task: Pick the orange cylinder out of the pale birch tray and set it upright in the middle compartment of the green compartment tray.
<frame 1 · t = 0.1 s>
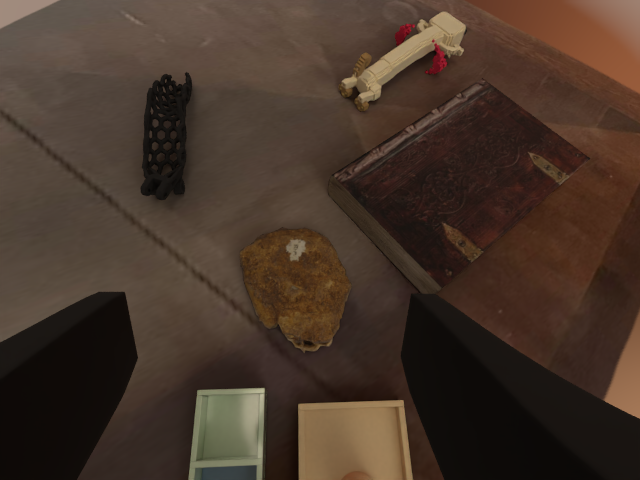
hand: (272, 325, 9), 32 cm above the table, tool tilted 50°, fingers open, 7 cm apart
decorative rock: (299, 290, 43), on the table
hardback book: (449, 187, 50), on the table
decorative element: (175, 144, 51), on the table
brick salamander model: (404, 70, 60), on the table
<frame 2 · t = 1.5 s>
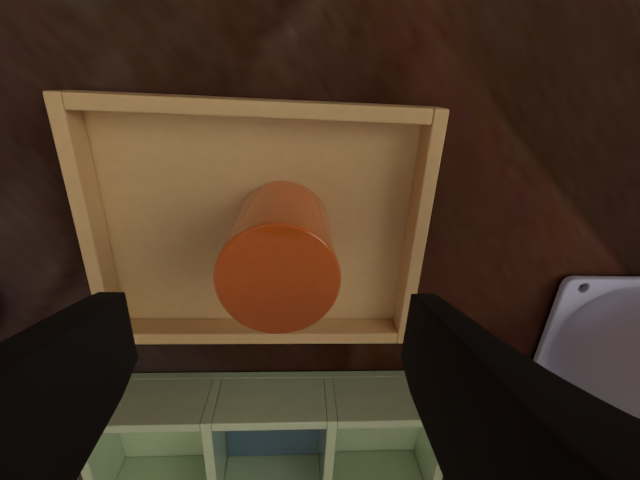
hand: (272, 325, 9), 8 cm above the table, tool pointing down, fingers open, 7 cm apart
orange cylinder: (283, 225, 16), resting on birch tray
birch tray: (261, 224, 16), on the table
green compartment tray: (274, 413, 21), on the table
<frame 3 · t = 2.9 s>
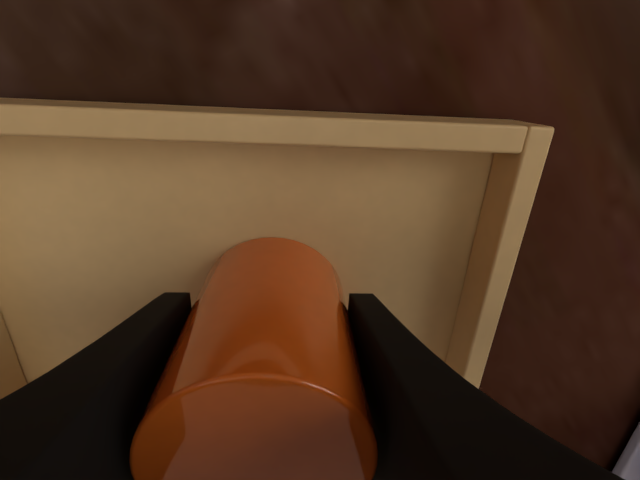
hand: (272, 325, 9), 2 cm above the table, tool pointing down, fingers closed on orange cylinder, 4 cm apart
orange cylinder: (274, 299, 10), point 1 cm above the table, touching birch tray, gripper
birch tray: (241, 296, 11), on the table
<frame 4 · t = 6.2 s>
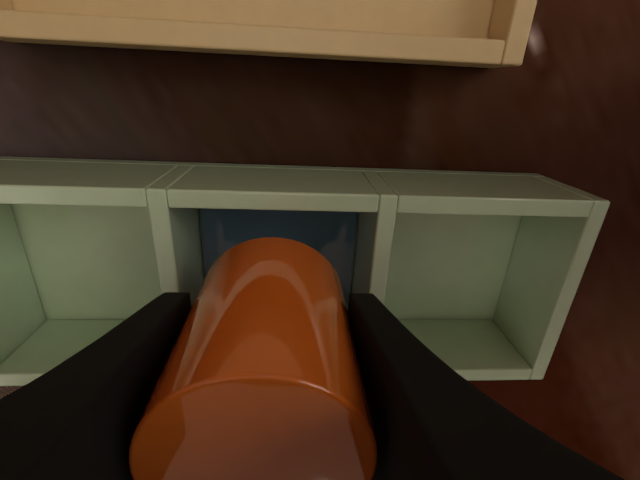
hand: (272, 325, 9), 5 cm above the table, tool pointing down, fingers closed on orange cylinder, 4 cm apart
orange cylinder: (273, 299, 10), point 3 cm above the table, touching gripper
green compartment tray: (280, 250, 13), on the table
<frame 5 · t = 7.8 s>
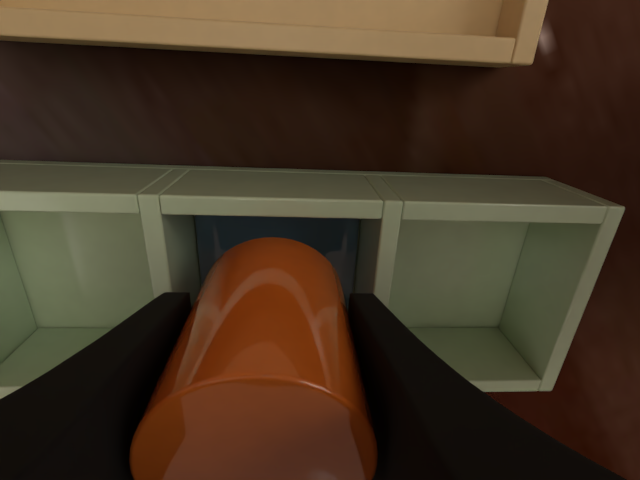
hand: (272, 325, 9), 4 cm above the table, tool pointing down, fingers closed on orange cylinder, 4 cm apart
orange cylinder: (274, 299, 10), point 3 cm above the table, touching gripper
green compartment tray: (279, 256, 13), on the table
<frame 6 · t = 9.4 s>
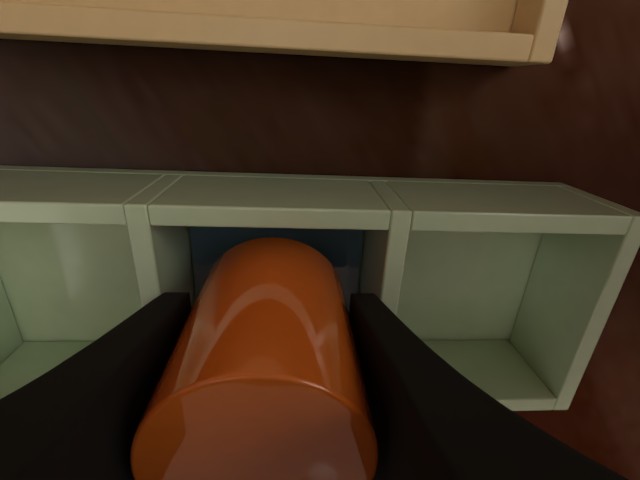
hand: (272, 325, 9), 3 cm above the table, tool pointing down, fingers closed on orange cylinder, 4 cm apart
orange cylinder: (274, 299, 10), point 2 cm above the table, touching gripper
green compartment tray: (278, 266, 12), on the table
when the fingers open (4 cm above the table, at t = 11.0 s): orange cylinder drops 2 cm, resting on green compartment tray.
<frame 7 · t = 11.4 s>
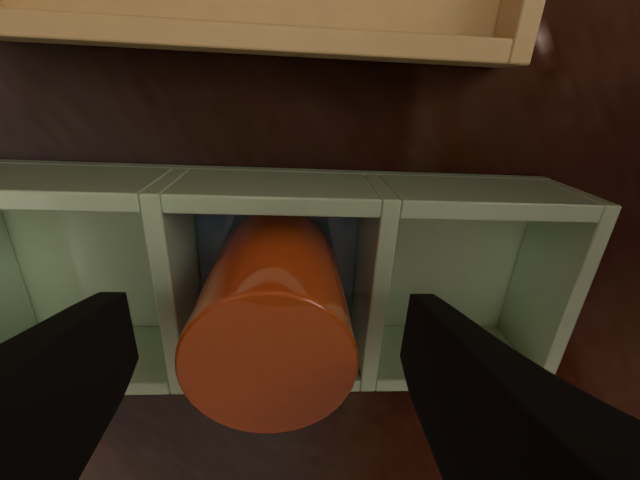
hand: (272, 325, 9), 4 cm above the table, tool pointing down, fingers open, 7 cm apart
orange cylinder: (278, 264, 12), point 1 cm above the table, touching green compartment tray
green compartment tray: (279, 255, 13), on the table
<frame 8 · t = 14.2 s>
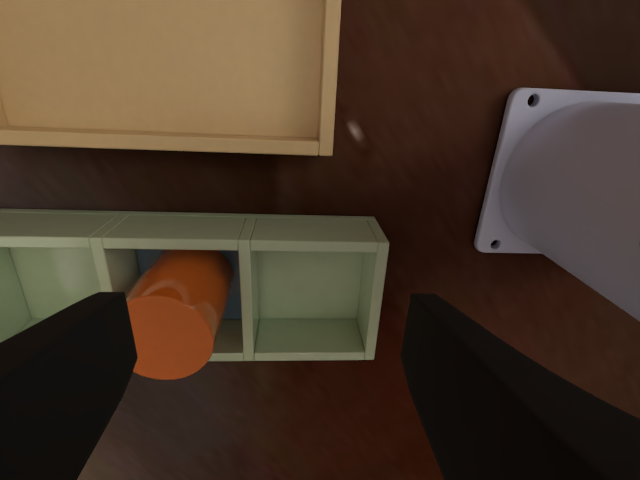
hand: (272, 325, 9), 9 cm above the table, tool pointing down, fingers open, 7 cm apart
orange cylinder: (194, 276, 18), point 1 cm above the table, touching green compartment tray
birch tray: (157, 5, 14), on the table
green compartment tray: (197, 269, 19), on the table
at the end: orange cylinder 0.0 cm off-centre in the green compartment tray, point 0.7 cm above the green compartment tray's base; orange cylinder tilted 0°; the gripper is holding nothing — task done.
